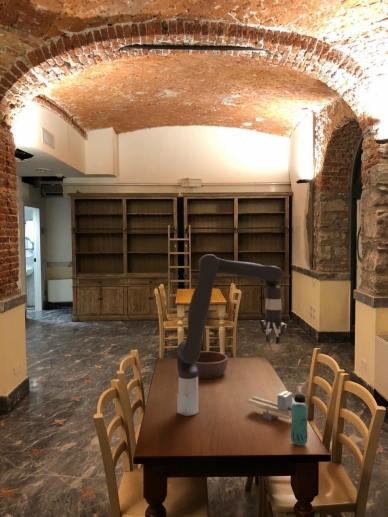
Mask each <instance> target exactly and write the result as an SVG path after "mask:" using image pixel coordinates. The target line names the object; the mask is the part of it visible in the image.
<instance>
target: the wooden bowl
mask: <svg viewBox="0 0 388 517" xmlns="http://www.w3.org/2000/svg"><path fill="white" fill-rule="evenodd" d="M228 360H229V358H228V355H226V354H224V353H222V352H218V351H209V350H206V351H205V350H204V351H201V352H200V356H199V359H198V360H197V361H196V366H197V369H198V379H201V378H202V379H201V380H212V379H219V378H220V376H221V377H222V376H223V375H224V374H225V373H226V371H227V366H228Z"/></svg>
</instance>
